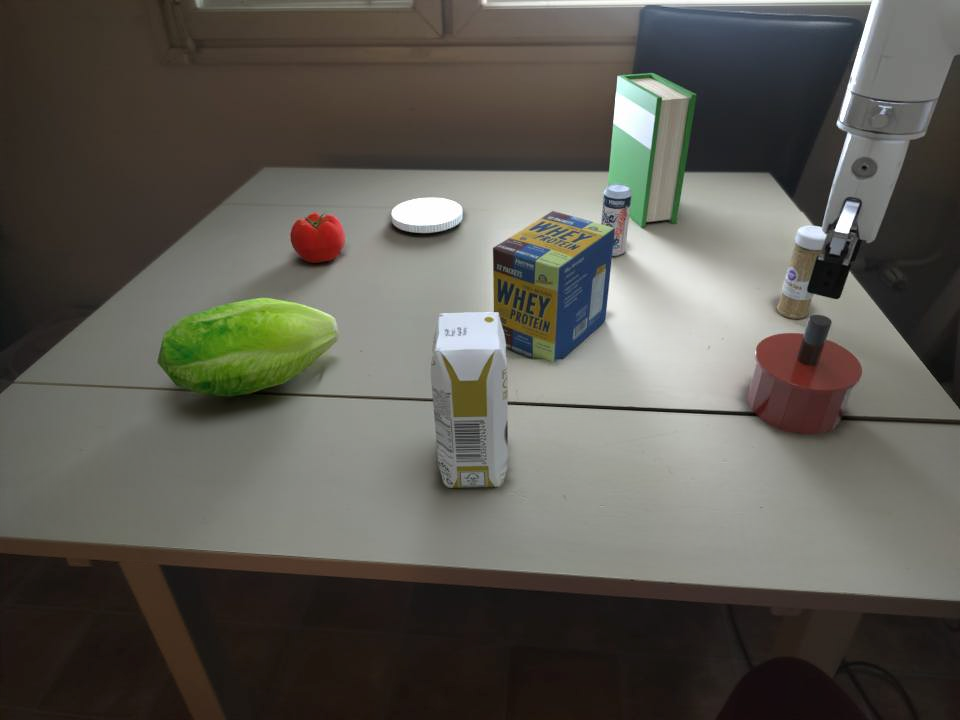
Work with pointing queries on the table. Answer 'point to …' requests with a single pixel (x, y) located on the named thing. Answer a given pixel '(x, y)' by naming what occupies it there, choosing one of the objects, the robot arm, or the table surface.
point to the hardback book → (651, 144)
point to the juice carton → (470, 399)
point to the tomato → (318, 237)
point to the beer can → (617, 214)
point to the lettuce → (245, 346)
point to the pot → (795, 405)
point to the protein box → (552, 284)
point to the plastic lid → (426, 215)
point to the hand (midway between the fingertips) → (831, 275)
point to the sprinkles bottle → (801, 272)
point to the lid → (809, 359)
